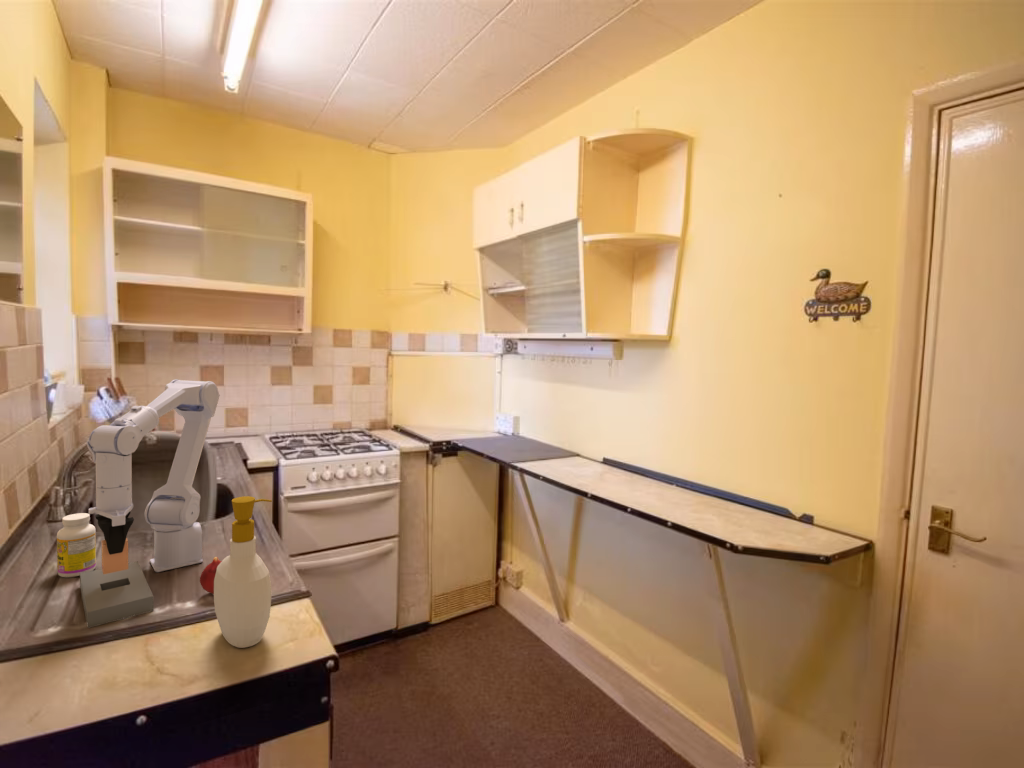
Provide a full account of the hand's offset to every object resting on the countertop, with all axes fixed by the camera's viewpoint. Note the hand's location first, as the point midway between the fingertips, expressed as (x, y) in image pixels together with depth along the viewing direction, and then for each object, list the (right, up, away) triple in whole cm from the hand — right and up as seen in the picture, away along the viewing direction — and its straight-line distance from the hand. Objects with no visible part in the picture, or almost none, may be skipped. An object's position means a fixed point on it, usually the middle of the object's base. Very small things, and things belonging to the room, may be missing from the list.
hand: (114, 550), depth 104 cm
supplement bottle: (-17, -9, +11) cm, 22 cm away
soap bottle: (+32, -13, -10) cm, 36 cm away
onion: (+18, -11, +5) cm, 22 cm away
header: (-1, -10, +1) cm, 10 cm away
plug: (0, -5, 0) cm, 4 cm away
